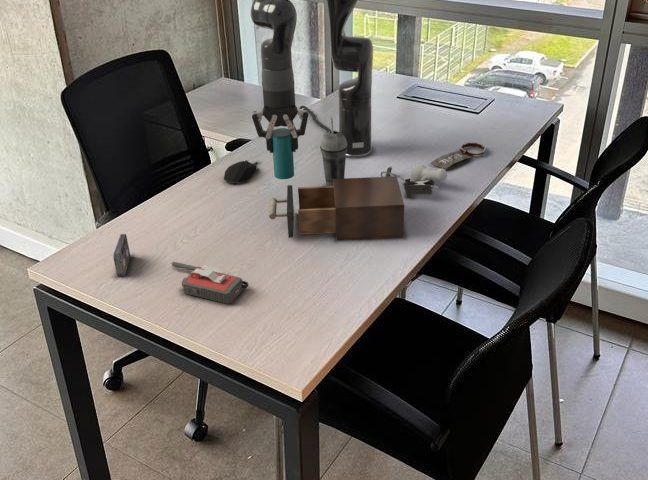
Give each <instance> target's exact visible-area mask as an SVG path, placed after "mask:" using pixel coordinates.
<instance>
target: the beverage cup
mask: <svg viewBox="0 0 648 480" xmlns="http://www.w3.org/2000/svg"><path fill="white" fill-rule="evenodd" d="M333 119H334V117H333V116H331V117H330V130H331V131H330V132H328V131H327V132H326V133H325V134H324V135H323V136H322V138H321V140H320V145H319V149H320V153H321V156H322V165H323V171H324V173H323V174H324V179H325V180H324V181H325V186H333V179H343V178H345V176H346V175H345V173H346V160H347V156H346V153H347V148H348V145H347V141H346V138H345V137H344V135H343V134H341V133H340V132H339V130H338V131H337V130H334V121H333Z"/></svg>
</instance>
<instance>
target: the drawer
mask: <svg viewBox="0 0 648 480" xmlns="http://www.w3.org/2000/svg"><path fill="white" fill-rule="evenodd" d="M286 189H287V190H286V199H277V198H276V197H271V198H270V199H269V214H268V217H269V219H270V220H275V219H276V218H284V217H285V218H286V222H287V223H286V224H287V236H288V239H291V238H292V239H293V238H294V237H295V236H294V235H295V233H294V230H295V229H294V228H295V227H294V222H295V221H294V220H295V207H294V193H293V191H294V190H293V184H290V185H289V184H288V185H287V186H286ZM297 193H298V194H297V195H298V209H297V214H298V215H297V216H298V217H297V218H298V233H299V235H313V234H314V235H315V234H316V235H317V234H336V211H335V199H334V188H333V186H326V185H322V186H321V185H319V186H300V187H299V186H298V187H297ZM283 203H286V212H285V213H277V205H278V204H283Z"/></svg>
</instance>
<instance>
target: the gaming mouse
mask: <svg viewBox="0 0 648 480" xmlns="http://www.w3.org/2000/svg"><path fill="white" fill-rule="evenodd" d="M256 164H258V162H257V161H256V162H254V163H251V162H250V161H249V160H241V161H238V162H235V163H233V164H231V165H229V166H228V167H227V169H226V170H225V171H224V175H223V180H224V181H225V182H226V183H229V184H242V183H244V182H246V181H248V179H250V178H251V177H252V176H253V175H254V174H255V173H256V172H257V166H256Z"/></svg>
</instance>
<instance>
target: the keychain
mask: <svg viewBox="0 0 648 480" xmlns="http://www.w3.org/2000/svg"><path fill="white" fill-rule="evenodd" d="M459 146H460V147H459V149H458V150H459V151H458V150H457V151H451V152H449V153H445V154H443V155H441V156H439V157H437V158H435V159H434V160H432V161H431V162H430V164H431V165H433V166H436V167H437V168H441V169H445V170H450V169H451V170H452V169H454V168H457V167H459V166H461V165H463V164H466V163H467V162H468V161H470V160H471V159H472V158H473V157H475V158H477V157H481V156H482V157H483V156H484V155H485V154H486V153H487V146H485V145H484V144H483V143H479V142H476V141H475V142H474V141H473V142H465V143H462V144H461V145H459ZM467 148H478V149H481V150H480V151H468V150H467Z"/></svg>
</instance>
